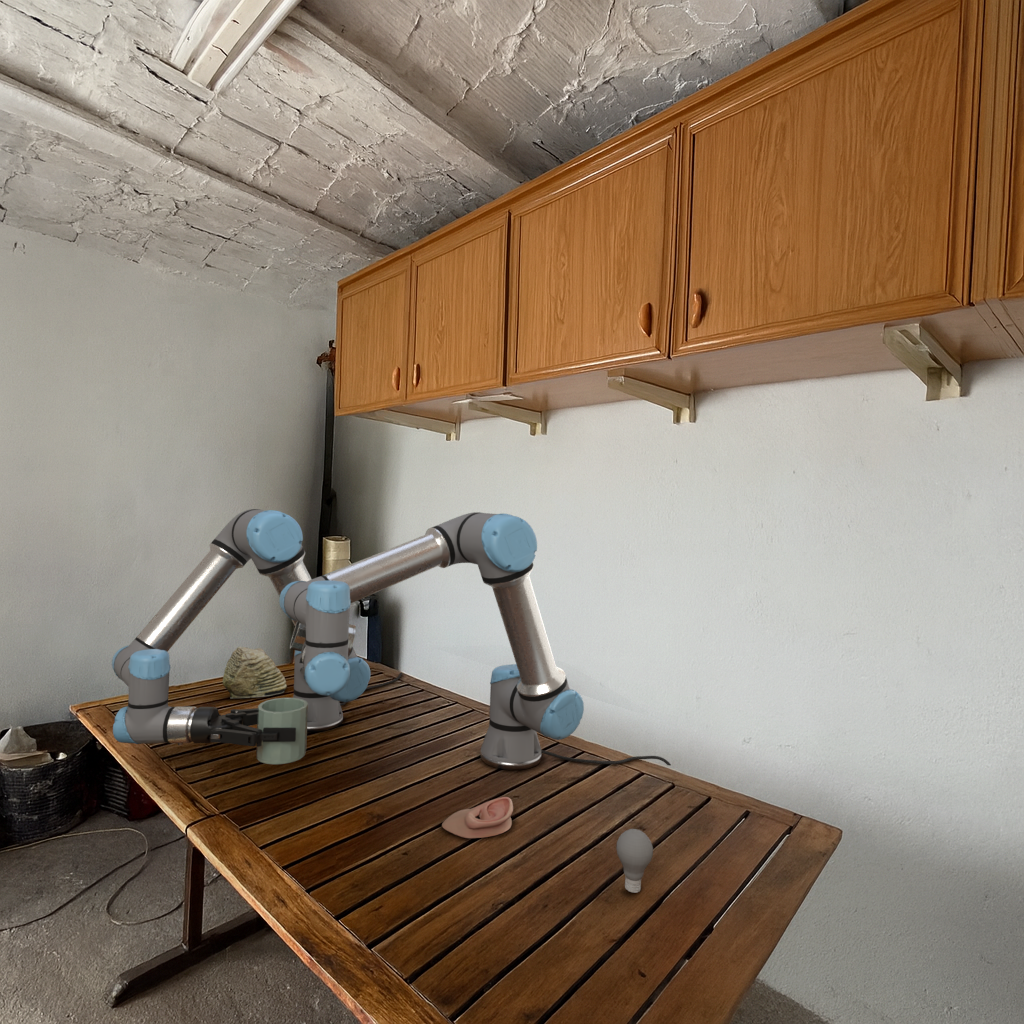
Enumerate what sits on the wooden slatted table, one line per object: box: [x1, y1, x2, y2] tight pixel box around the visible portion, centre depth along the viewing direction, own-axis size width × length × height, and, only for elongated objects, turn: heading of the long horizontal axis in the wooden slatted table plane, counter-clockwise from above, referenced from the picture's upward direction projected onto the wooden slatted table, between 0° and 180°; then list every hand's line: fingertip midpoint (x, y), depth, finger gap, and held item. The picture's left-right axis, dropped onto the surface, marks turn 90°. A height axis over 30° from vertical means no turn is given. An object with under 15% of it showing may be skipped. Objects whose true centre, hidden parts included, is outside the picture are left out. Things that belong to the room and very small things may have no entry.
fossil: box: [222, 646, 288, 699], centre depth 198 cm, size 9×18×15 cm, turn 132°
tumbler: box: [289, 621, 357, 656], centre depth 141 cm, size 8×8×12 cm
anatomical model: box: [441, 796, 514, 839], centre depth 125 cm, size 13×4×12 cm
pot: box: [255, 697, 308, 765], centre depth 139 cm, size 10×10×11 cm
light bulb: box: [615, 828, 654, 894], centre depth 106 cm, size 6×6×10 cm
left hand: (301, 725), depth 139 cm, fingers closed on pot, 10 cm apart
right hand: (314, 631), depth 145 cm, fingers closed on tumbler, 8 cm apart
